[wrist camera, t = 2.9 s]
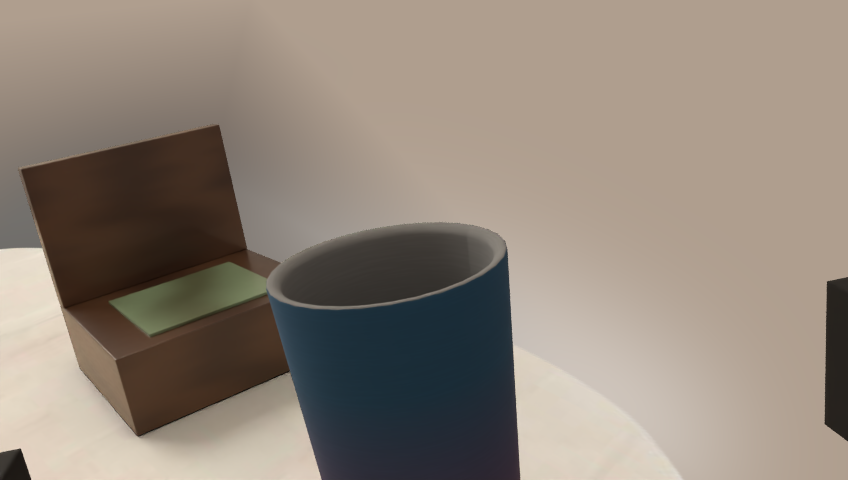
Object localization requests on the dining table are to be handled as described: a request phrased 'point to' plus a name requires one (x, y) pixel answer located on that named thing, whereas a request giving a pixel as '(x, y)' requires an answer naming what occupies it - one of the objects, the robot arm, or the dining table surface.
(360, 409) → the cup
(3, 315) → the dining table surface
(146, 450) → the dining table surface
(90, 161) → the open wooden box
